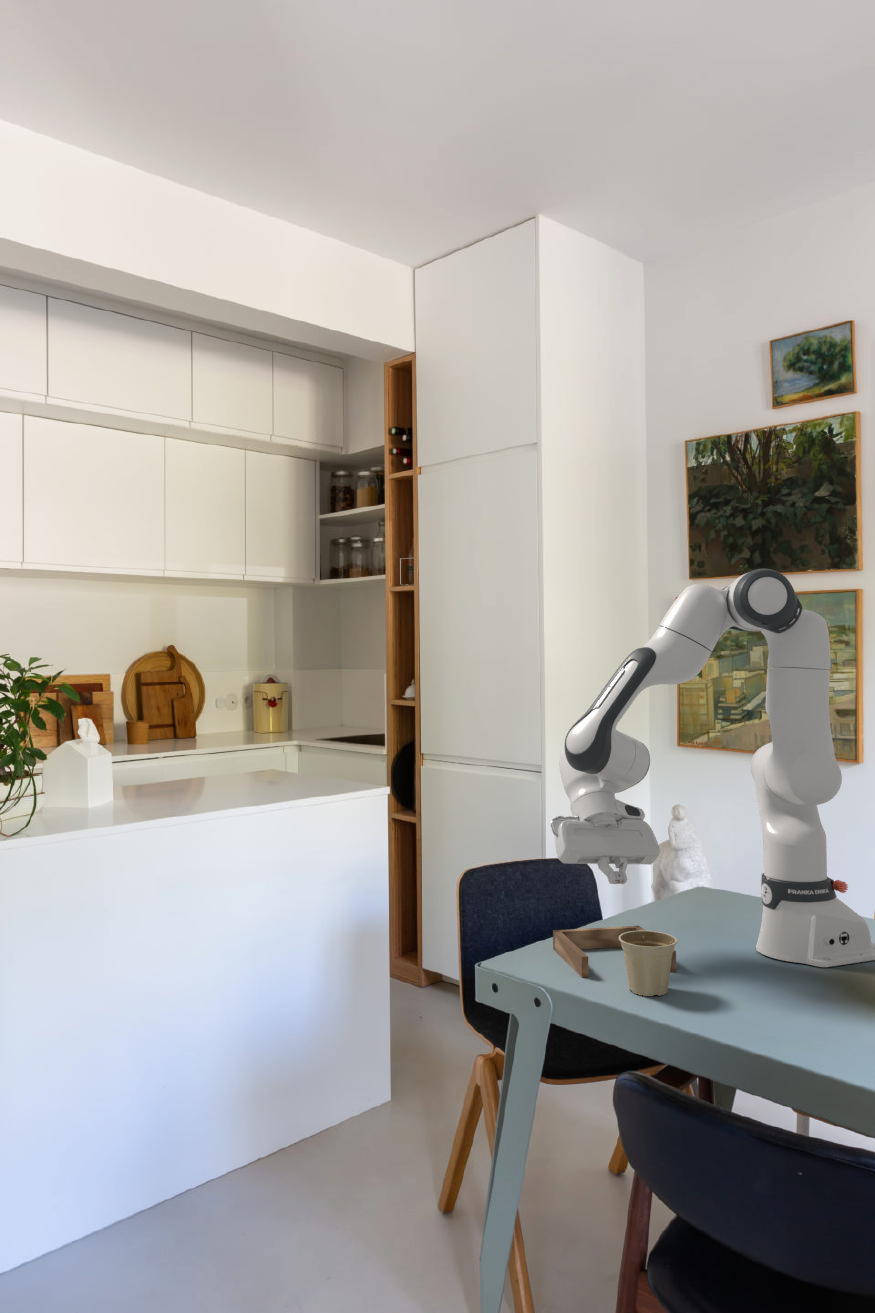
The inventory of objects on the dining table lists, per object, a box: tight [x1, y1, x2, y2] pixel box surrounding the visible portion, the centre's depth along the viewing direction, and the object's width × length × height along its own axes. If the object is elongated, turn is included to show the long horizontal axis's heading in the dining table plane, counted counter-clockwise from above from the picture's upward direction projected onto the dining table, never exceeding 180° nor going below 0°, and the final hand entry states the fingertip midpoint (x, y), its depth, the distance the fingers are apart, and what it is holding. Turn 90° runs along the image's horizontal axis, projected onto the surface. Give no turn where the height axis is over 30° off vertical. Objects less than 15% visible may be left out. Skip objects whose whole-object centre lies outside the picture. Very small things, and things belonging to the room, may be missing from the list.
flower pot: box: [619, 929, 678, 997], centre depth 152 cm, size 9×9×9 cm
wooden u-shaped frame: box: [552, 925, 677, 978], centre depth 169 cm, size 17×17×4 cm
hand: (618, 882), depth 167 cm, fingers closed
